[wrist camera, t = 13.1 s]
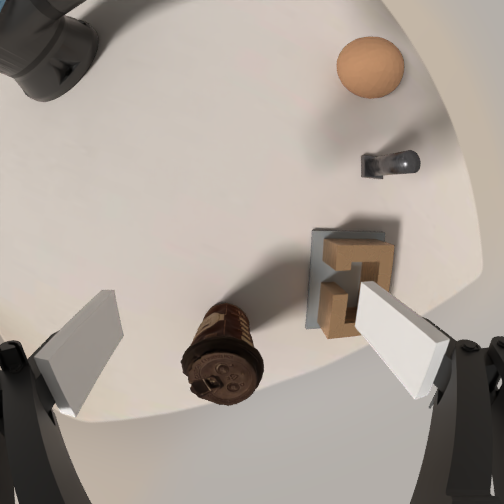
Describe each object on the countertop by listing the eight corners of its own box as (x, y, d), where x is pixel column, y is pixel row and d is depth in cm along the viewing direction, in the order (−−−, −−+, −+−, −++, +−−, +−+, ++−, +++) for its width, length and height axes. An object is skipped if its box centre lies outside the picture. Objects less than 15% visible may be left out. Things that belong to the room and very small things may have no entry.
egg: (321, 92, 31) (353, 57, 20) (333, 50, 30) (363, 11, 19) (373, 116, 32) (418, 94, 21) (381, 73, 31) (422, 45, 20)
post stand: (361, 155, 33) (401, 145, 24) (379, 158, 34) (421, 150, 24) (361, 177, 34) (401, 173, 24) (379, 179, 34) (422, 176, 24)
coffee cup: (188, 339, 37) (172, 398, 24) (201, 288, 36) (185, 335, 23) (246, 354, 38) (252, 415, 26) (263, 304, 37) (277, 357, 24)
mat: (312, 230, 35) (313, 230, 34) (383, 232, 36) (385, 232, 35) (305, 327, 38) (306, 329, 37) (371, 321, 39) (373, 323, 38)
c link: (323, 238, 35) (337, 245, 30) (375, 238, 35) (394, 245, 30) (317, 322, 37) (327, 338, 32) (366, 317, 38) (381, 332, 33)
